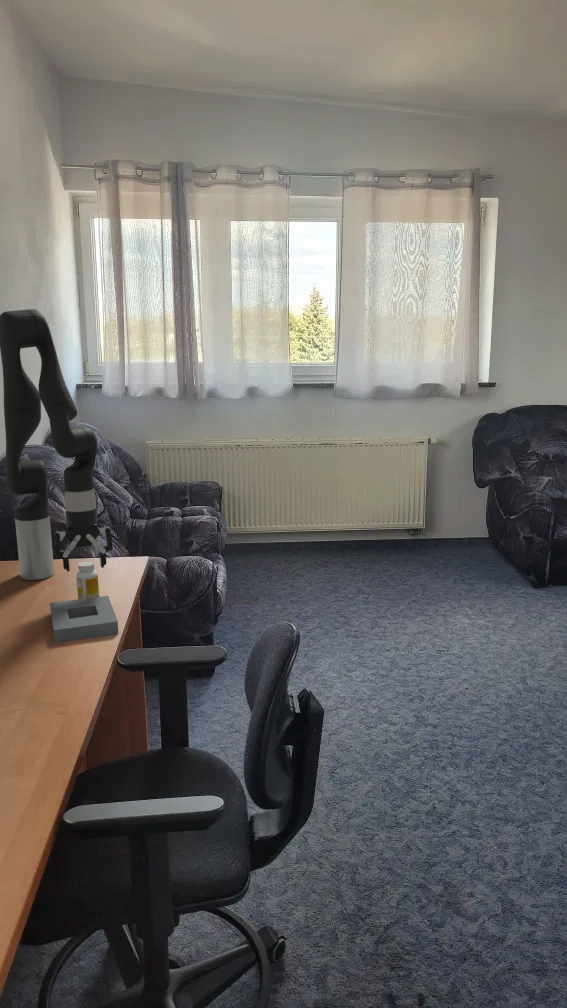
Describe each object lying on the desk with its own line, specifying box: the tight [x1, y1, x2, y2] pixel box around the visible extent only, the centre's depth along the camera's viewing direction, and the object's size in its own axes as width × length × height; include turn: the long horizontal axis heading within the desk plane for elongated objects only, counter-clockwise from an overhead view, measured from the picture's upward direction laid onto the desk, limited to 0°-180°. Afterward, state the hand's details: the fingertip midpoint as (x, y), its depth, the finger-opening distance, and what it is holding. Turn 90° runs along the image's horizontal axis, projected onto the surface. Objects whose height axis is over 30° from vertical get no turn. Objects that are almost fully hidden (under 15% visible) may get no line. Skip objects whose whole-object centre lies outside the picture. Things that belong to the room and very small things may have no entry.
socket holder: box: [49, 595, 119, 644], centre depth 171 cm, size 18×14×3 cm
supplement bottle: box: [75, 561, 100, 600], centre depth 186 cm, size 5×5×10 cm
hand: (85, 568), depth 185 cm, fingers open, 8 cm apart
